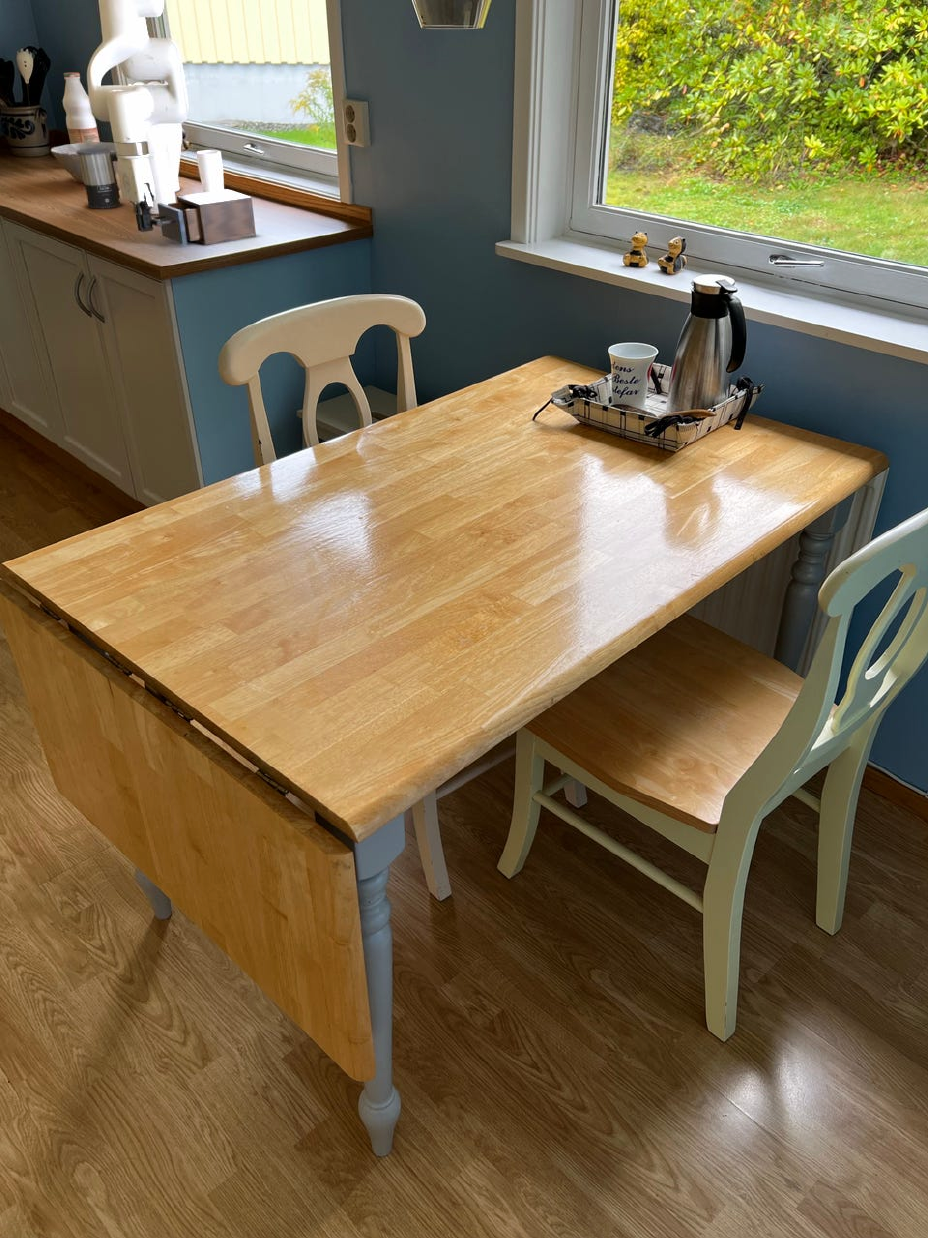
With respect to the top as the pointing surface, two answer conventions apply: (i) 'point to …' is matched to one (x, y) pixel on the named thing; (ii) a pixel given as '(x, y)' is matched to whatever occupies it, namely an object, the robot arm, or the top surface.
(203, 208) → the cabinet
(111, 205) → the milk frother
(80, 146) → the ceramic bowl
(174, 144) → the vase
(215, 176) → the white cylinder
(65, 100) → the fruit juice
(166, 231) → the drawer
